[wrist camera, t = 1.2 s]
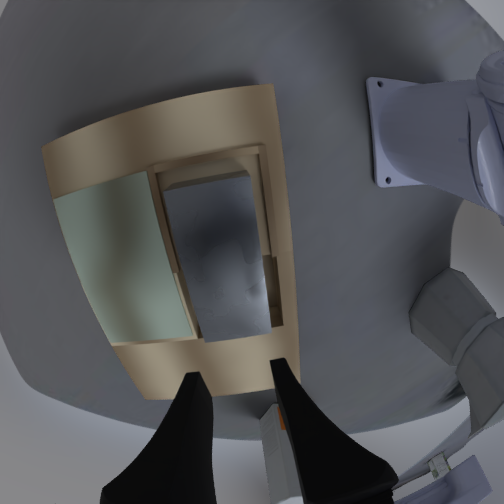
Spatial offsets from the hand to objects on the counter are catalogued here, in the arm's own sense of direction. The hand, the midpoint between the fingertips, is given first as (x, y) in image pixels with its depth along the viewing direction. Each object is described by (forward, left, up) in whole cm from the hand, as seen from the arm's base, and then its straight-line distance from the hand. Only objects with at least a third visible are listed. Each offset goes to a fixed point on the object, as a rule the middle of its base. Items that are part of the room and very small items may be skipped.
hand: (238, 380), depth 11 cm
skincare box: (-3, +20, -10) cm, 22 cm away
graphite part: (0, -3, -6) cm, 7 cm away
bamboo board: (+3, -1, -9) cm, 10 cm away
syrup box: (-60, +98, -10) cm, 115 cm away
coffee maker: (-21, +7, -10) cm, 24 cm away
